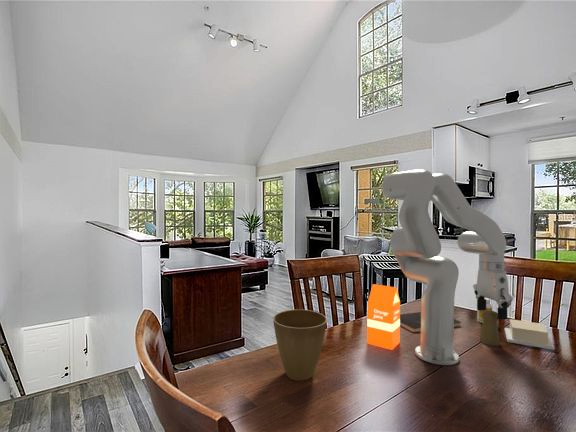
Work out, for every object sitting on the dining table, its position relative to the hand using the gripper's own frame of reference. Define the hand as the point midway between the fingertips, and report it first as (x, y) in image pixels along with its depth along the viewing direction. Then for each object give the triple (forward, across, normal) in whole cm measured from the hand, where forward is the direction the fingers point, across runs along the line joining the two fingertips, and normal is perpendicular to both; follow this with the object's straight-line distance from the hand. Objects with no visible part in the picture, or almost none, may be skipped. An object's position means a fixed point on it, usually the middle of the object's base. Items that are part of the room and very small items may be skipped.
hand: (491, 314), depth 115 cm
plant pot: (+7, -15, +71) cm, 73 cm away
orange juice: (+9, +3, +39) cm, 40 cm away
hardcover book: (+10, +21, +14) cm, 27 cm away
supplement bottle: (+10, +19, -12) cm, 25 cm away
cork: (+10, 0, +1) cm, 10 cm away
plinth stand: (+10, 0, -14) cm, 18 cm away
